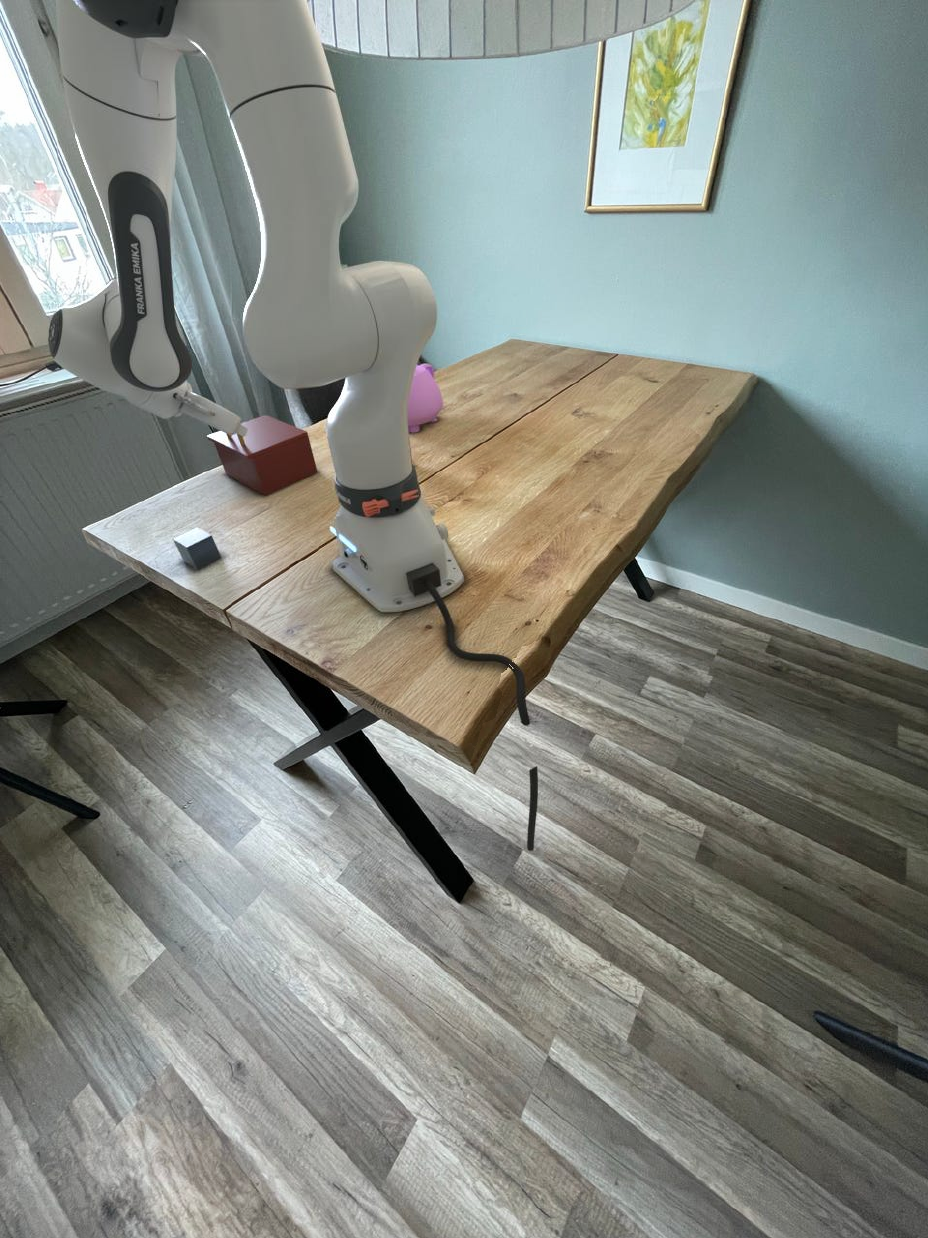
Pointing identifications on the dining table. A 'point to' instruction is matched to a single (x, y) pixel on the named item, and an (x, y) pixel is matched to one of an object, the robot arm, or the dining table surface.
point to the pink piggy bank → (423, 398)
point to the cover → (258, 437)
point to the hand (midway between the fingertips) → (234, 427)
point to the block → (197, 548)
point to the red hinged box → (271, 466)
